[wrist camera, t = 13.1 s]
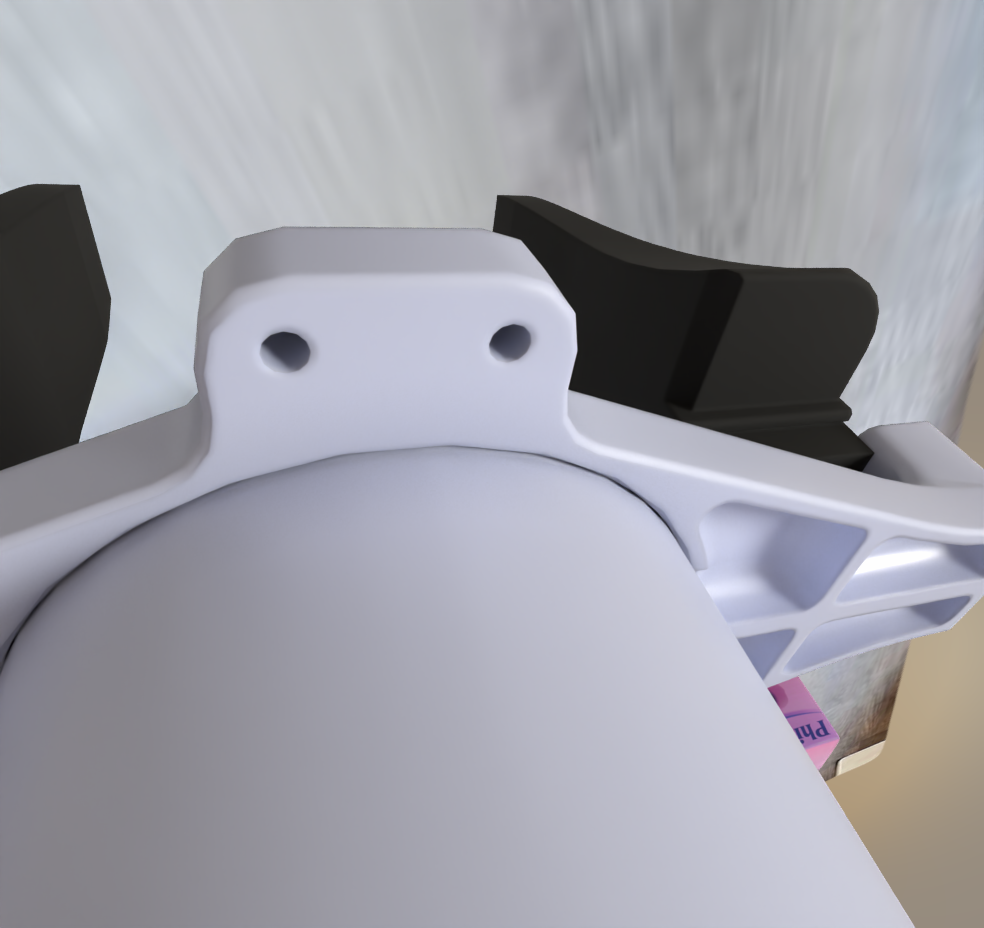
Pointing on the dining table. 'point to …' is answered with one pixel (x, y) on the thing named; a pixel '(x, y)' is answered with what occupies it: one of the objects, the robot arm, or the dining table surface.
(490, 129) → the dining table surface
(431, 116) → the dining table surface
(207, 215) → the dining table surface
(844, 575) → the robot arm
